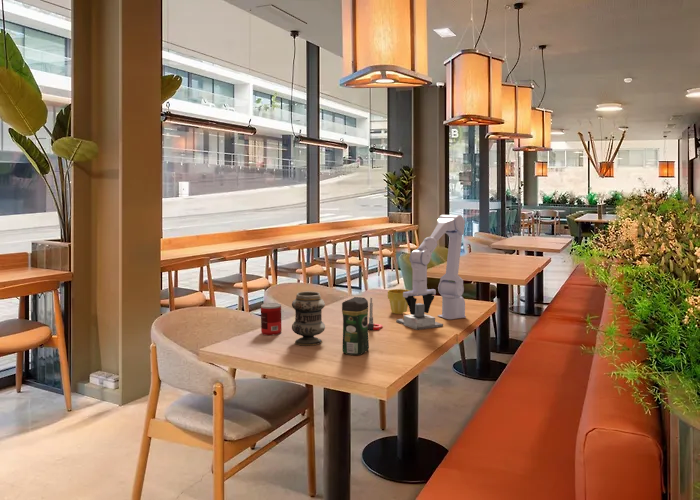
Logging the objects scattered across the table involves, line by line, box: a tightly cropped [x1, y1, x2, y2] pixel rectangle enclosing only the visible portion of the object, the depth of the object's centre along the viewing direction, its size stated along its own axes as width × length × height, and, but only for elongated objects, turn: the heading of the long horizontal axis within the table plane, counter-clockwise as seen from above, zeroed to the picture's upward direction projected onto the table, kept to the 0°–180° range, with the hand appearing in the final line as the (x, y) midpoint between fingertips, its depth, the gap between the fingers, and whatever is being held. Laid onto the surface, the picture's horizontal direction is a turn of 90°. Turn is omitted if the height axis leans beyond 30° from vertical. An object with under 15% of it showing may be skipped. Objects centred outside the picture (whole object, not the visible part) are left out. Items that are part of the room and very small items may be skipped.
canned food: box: [260, 302, 283, 336], centre depth 220 cm, size 8×8×11 cm
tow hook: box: [368, 297, 383, 331], centre depth 228 cm, size 8×13×9 cm
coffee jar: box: [341, 296, 370, 356], centre depth 193 cm, size 10×8×19 cm
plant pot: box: [387, 288, 410, 315], centre depth 256 cm, size 10×10×10 cm
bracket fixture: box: [395, 311, 444, 331], centre depth 233 cm, size 12×16×4 cm
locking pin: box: [414, 302, 425, 318], centre depth 230 cm, size 3×3×8 cm
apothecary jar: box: [291, 290, 326, 347], centre depth 206 cm, size 12×12×18 cm
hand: (419, 313), depth 230 cm, fingers open, 6 cm apart
